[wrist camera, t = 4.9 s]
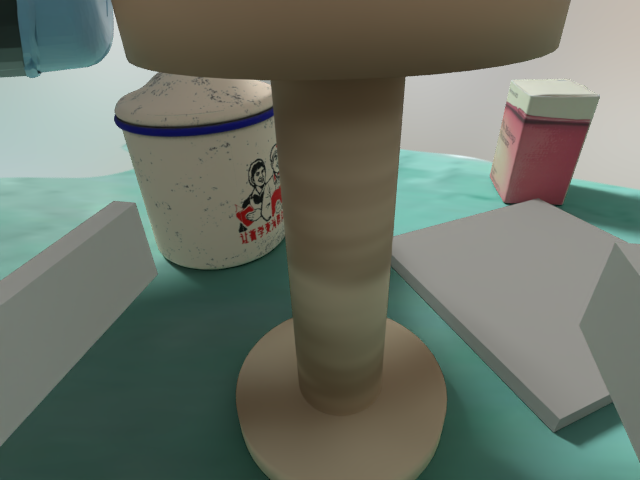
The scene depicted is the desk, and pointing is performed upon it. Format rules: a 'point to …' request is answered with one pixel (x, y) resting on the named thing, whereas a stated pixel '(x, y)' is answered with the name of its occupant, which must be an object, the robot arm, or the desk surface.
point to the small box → (541, 139)
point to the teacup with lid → (206, 167)
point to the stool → (338, 205)
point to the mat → (517, 298)
